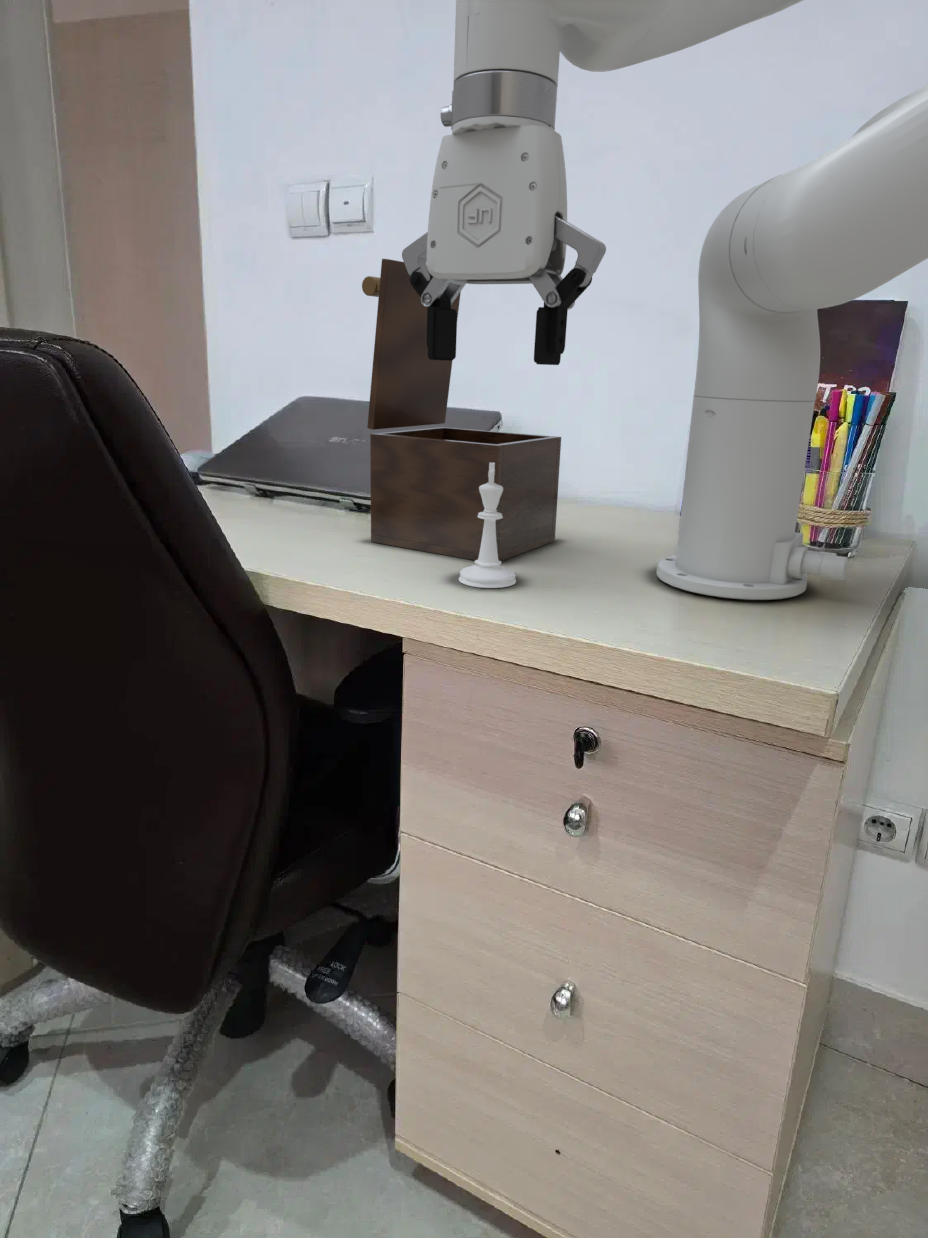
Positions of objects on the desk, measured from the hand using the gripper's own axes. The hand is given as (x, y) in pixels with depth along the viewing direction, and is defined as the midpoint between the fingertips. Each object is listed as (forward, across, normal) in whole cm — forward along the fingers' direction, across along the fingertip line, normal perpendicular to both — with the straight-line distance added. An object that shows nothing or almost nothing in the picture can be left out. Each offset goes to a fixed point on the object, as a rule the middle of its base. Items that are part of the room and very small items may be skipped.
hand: (492, 362), depth 65 cm
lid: (-1, -16, +12) cm, 20 cm away
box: (+18, -10, +12) cm, 24 cm away
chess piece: (+18, 0, 0) cm, 18 cm away
